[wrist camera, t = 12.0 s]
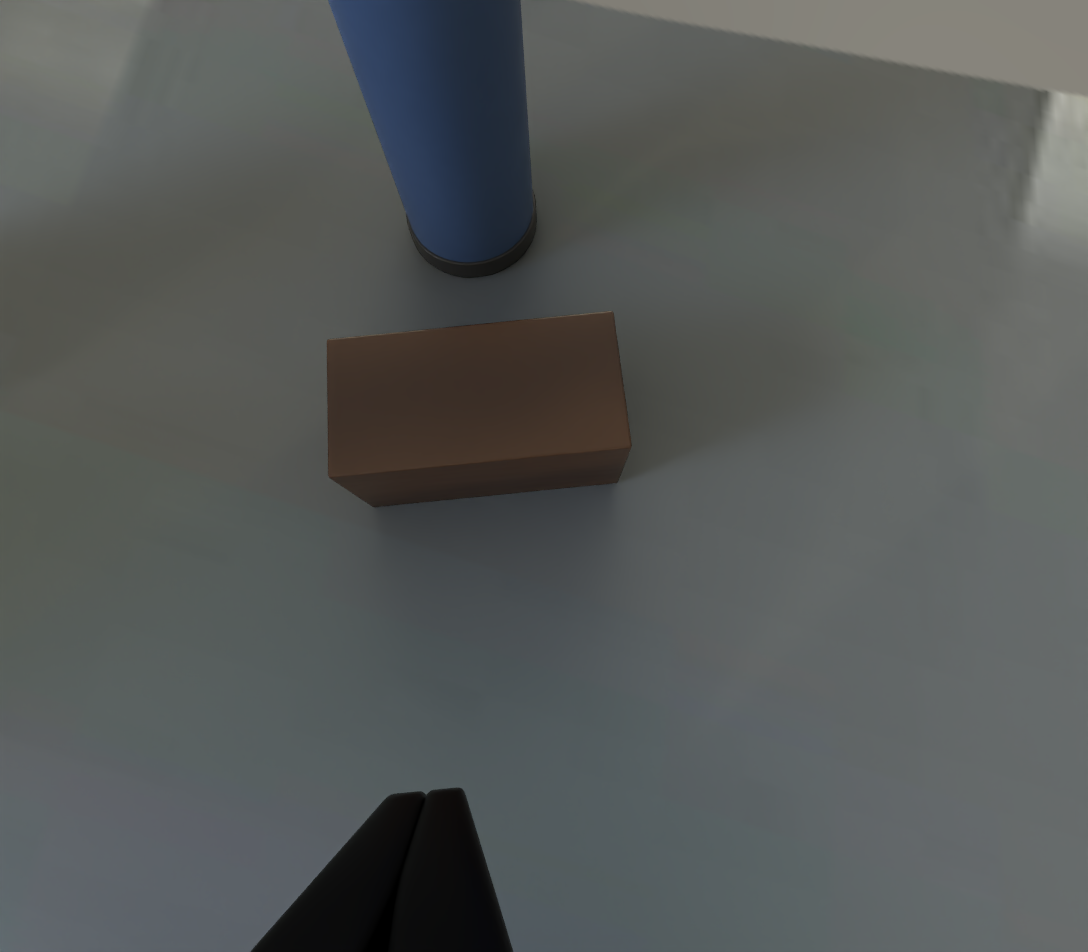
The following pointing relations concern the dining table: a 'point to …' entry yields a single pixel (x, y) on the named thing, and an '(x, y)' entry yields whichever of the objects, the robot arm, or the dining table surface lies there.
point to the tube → (449, 122)
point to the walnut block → (477, 409)
